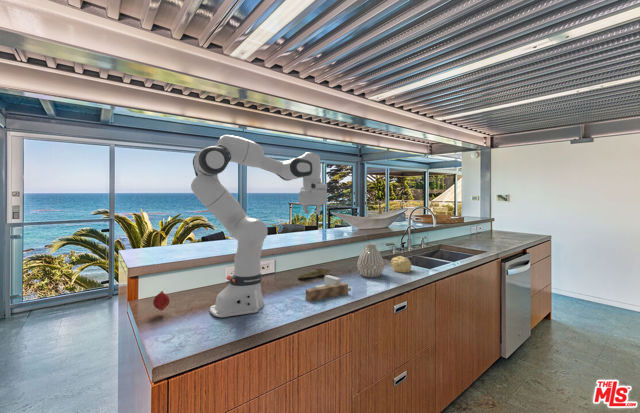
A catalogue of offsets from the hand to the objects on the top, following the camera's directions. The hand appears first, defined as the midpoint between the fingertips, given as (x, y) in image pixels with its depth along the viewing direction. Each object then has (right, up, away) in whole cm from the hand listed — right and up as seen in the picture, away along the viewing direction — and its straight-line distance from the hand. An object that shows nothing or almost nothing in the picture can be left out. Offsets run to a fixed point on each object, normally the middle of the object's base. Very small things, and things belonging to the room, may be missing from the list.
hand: (312, 214), depth 144 cm
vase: (+35, -39, +34) cm, 63 cm away
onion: (-61, -39, -24) cm, 77 cm away
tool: (+4, -38, +28) cm, 48 cm away
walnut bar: (+7, -39, -5) cm, 40 cm away
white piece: (+10, -39, +8) cm, 41 cm away
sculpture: (+57, -39, +45) cm, 82 cm away
